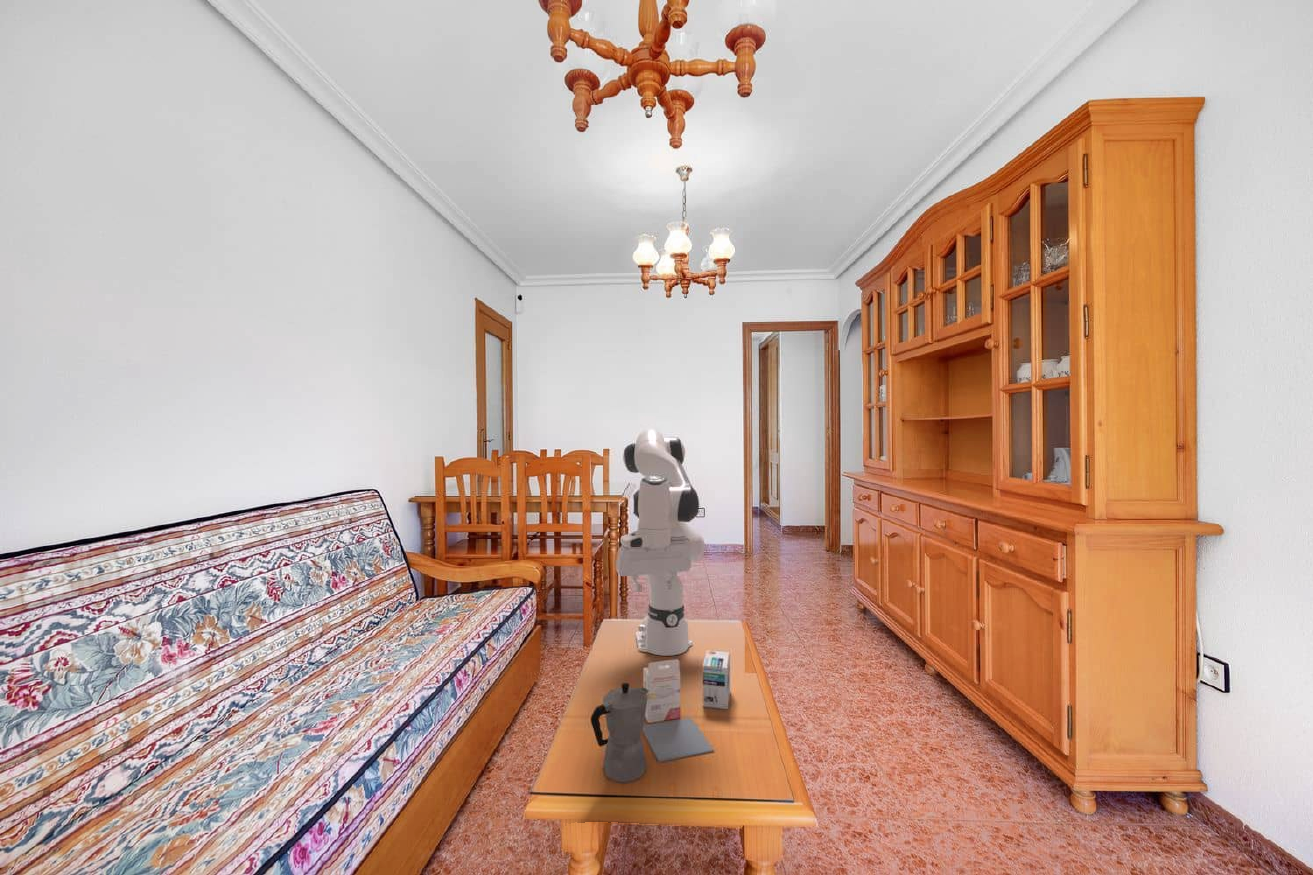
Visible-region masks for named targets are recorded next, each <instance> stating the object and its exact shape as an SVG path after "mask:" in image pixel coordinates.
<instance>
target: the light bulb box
mask: <svg viewBox="0 0 1313 875" xmlns="http://www.w3.org/2000/svg"><path fill="white" fill-rule="evenodd" d="M730 695H731V652H726V651H717V650H706V652H705V656H704V659H703V664H702V707H705V708H713V709H714V708H715V709H721V710H728V708H729V702H730Z"/></svg>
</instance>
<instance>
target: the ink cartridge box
mask: <svg viewBox="0 0 1313 875" xmlns="http://www.w3.org/2000/svg"><path fill="white" fill-rule="evenodd" d="M647 666H648V667H643V670H642V671H643V672H642V673H643V677H642V678H643V682H642V683H643V684H642V685H643V686H642V687H643V688H646V689H647V690H649V691H648V693H647V694H646V697H647V698H648V699H647V706H646V712H645V719H646V722H647V723H649V724H654V723H660V722H666V721H672V720H678V719H681V671H680V659H679V658H676V659H670V660H669V659H668V660H661V661H653V662H648V665H647Z"/></svg>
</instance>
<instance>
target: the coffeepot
mask: <svg viewBox="0 0 1313 875" xmlns="http://www.w3.org/2000/svg"><path fill="white" fill-rule="evenodd" d="M648 691H649V690H647V689H646V688H642V687H638V688H632V687H630V684H629V683H628V682H623V683H621V687H619V688H616V689H615V688H614V689H611V690H610V691H608V692H607V693H606V694H605V695H604V696H602V699H603V703H602V704H600V705H597V706H596V707H595V709H594V711H593V712H592V714H591V716H590V723H591V726H592V729H593V732H594V736H595V740H596V743H597V745H598V747H604V746H605V752H604V757H603V762H602V769H603V771H604V775H605V777H606V778H607V779H609V780H611V781H612V782H615V783H621V784H622V783H623V784H625V783H632V782H634V781H637V780H639V779H641V777H642V776H644V774H645V771H646V770H647V769H648V768H647V767H648V766H647V762H646V755H645V748H644V743H643V738H642V732H643V731H642V729H643V725H645V719H646V717H645V712H646V706H647V699H648V698H647V697H646V694H647V693H648ZM602 715H605V722H606V729H607V730H608V731H607V732H609V733H608V734H609V736H608V738H605V739H604V738H603V731H602V729H601V728H602V727H601V721H600V719H601V716H602Z"/></svg>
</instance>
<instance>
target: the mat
mask: <svg viewBox="0 0 1313 875" xmlns="http://www.w3.org/2000/svg"><path fill="white" fill-rule="evenodd" d="M641 732H642V734H643V735H644V737H645V739H646V740H647V743H648V746H649V747H650V749H651V750H652V752H653V755H654V756H655V758H656V761H657V762H658V763H662V762H666V761H667V762H668V761H673V760H677V759H681V758H682V759H683V758H687V757H693V756H698V755H702V754H708V753H709V754H710V753H713V752H715V749H714V748H713V745H711V743H710V742H709V740H708V739H707V738H706V737H705V734H703V732H702V731H701V730H700V728H699V727H698V725H697V724H696V722H695V721H694V720H693V719H692V717H685V718H678V719H672V720H666V721H660V722H654V723H649V724H644V725H643V729H642V731H641Z"/></svg>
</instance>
